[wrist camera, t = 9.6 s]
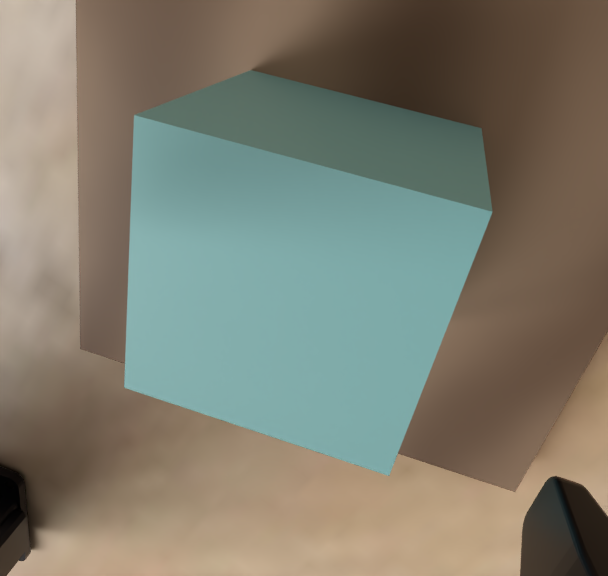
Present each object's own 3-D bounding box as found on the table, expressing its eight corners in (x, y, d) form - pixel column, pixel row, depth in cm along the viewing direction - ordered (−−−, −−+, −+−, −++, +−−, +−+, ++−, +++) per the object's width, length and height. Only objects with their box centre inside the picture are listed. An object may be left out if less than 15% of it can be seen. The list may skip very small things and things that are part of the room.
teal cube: (223, 270, 17) (123, 388, 12) (251, 69, 14) (134, 115, 9) (411, 326, 17) (388, 475, 12) (481, 128, 14) (492, 211, 9)
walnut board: (98, 331, 22) (80, 349, 21) (102, -202, 14) (72, -217, 13) (512, 465, 20) (515, 491, 19) (803, -61, 12) (835, -65, 11)
